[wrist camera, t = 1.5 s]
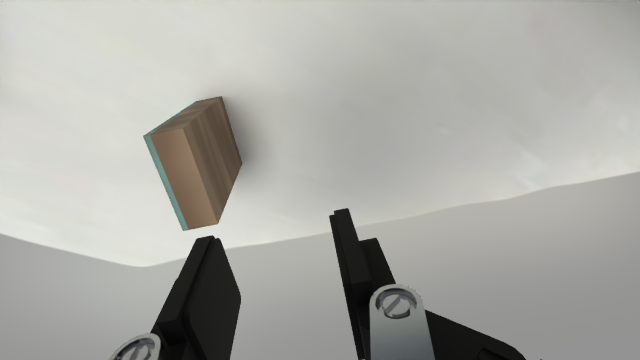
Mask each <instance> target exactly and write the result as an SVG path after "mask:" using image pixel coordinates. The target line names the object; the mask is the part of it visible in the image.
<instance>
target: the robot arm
mask: <svg viewBox="0 0 640 360" xmlns="http://www.w3.org/2000/svg"><path fill="white" fill-rule="evenodd" d="M334 214H335V215H330V216H329V218H330V223H331V228H332V233H333V238H334V242H335V248H336V253H337V257H338V262H339V267H340V273H341V277H342V282H343V287H344V292H345V297H346V302H347V307H348V312H349V316H350V321H351V326H352V331H353V336H354V341H355V345H356V351H357V355H358V360H363V359H365V360H526V359H525V358H524V356H523V355H522V354H521V353H519V352H518V351H517V350H516V349H515V348H513V347H512V346H510V345H508V344H506V343H504V342H502V341H500V340H497V339H495V338H492V337H490V336H488V335H485V334H483V333H480V332H477V331H475V330H473V329H471V328H468V327H466V326H463V325H461V324H458V323H456V322H454V321H451V320H449V319H447V318H444V317H442V316H439V315H437V314H435V313H432V312H430V311H427V310H425V309H424V305H423V301H422V299H421V296H420V295H419V294H418V293H417V292H416V290H414V289H412V288H410V287H409V286H405V285H401V284H396V283H395V280H394V278H393V275H392V273H391V271H390V268H389V266H388V263H387V261H386V259H385V256H384V254H383V252H382V250H381V247H380V244H379V242H378V240H377V238H372V239H367V240H363V241H359V240H358V237H357V234H356V231H355V228H354V224H353V221H352V218H351V215H350V212H349V209H348V208H346V209H341V210H336V211H334ZM240 304H241V295H240V291H239V289H238V286H237V283H236V281H235V278H234V276H233V272H232V270H231V267H230V265H229V262H228V259H227V256H226V254H225V251H224V248H223V246H222V243H221V240H220V239H219V238H216V239H215V237H214V236H213V235H212V236H207V237H202V238H197V239H196V241H195V243H194V245H193V247H192V249H191V251H190V254H189V256H188V258H187V260H186V262H185V264H184V266H183V268H182V270H181V272H180V275H179V277H178V278H177V280H176V281H175V283H174V285H173V287H172V289H171V291H170V293H169V295H168V298H167V299H166V301H165V304H164V305H163V308H162V310H161V312H160V314H159V316H158V318H157V320H156V322H155V324H154V326H153V329H152V330H151V332H150V333H147V334H142V335H139V336H136V337H134V338H132V339H130V340H129V341H127V342H125V343H124V344H123V345H121V346H120V347H119V348H118V349H117V350H116V351H115V352H114V353H113V354H112V356H111V357H110V358H109V360H230V355H231V350H232V345H233V339H234V335H235V329H236V324H237V319H238V314H239V309H240Z"/></svg>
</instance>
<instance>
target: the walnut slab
mask: <svg viewBox="0 0 640 360" xmlns="http://www.w3.org/2000/svg"><path fill="white" fill-rule="evenodd" d="M143 137H144V140H145V142H146V144H147V147H148V149H149V151H150V154H151V156H152V158H153V161H154V163H155V166H156V168H157V170H158V173H159V175H160V177H161V180H162V182H163V185H164V187H165V189H166V192H167V194H168V196H169V199H170V201H171V204H172V206H173V208H174V211H175V213H176V215H177V218H178V220H179V223H180V225H181V227H182V230H183V231H185V230H190V229H195V228H200V227H205V226H210V225H215V224H218V223H219V220H220V218H221V215H222V213H223V210H224V208H225V205H226V203H227V200H228V198H229V195H230V193H231V190H232V188H233V185H234V182H235V180H236V177H237V175H238V172H239V170H240V167H241V165H242V162H241V159H240V156H239V152H238V149H237V146H236V143H235V139H234V136H233V133H232V129H231V126H230V123H229V120H228V116H227V113H226V110H225V106H224V103H223V100H222V97H216V98H211V99H206V100H201V101H196V102H194V103H193V104H191V105H190V106H188V107H187V108H185V109H184V110H182V111H181V112H179V113H178V114H176V115H175V116H173V117H172V118H170V119H169V120H167V121H165V122H164V123H162V124H161V125H159V126H158V127H156V128H155V129H153V130H152V131H150V132H149V133H147V134H146V135H144V136H143Z"/></svg>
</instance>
